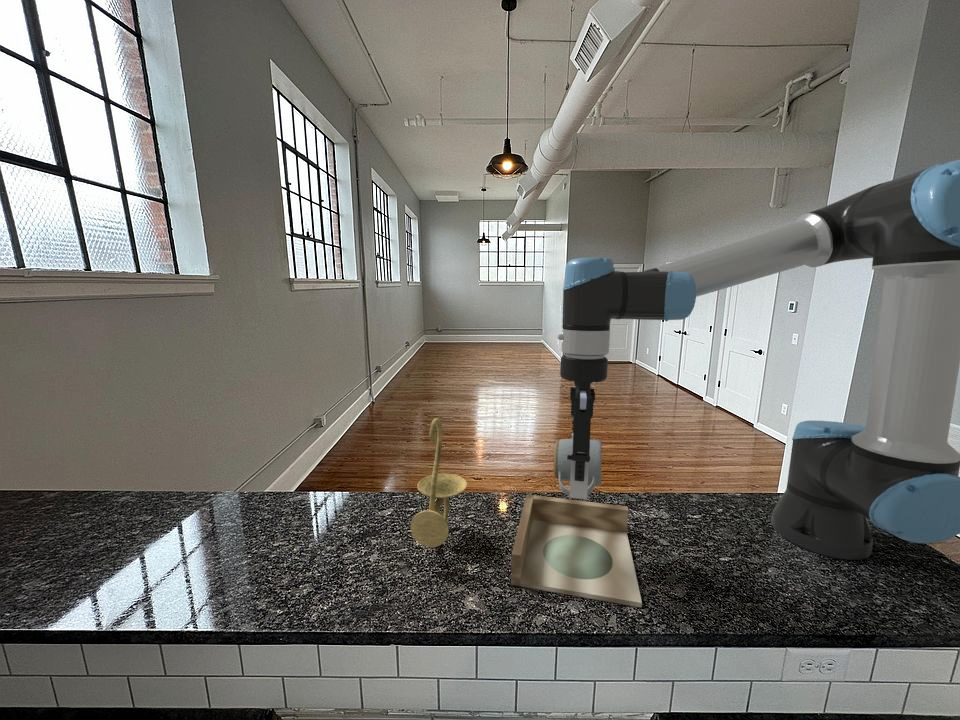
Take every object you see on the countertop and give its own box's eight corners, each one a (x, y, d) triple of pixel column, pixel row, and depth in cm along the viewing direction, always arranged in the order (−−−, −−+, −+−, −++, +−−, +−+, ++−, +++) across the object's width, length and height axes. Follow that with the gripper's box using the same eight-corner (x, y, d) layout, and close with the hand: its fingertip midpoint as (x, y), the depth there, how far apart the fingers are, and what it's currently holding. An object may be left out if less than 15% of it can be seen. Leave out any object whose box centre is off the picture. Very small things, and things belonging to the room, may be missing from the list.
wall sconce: (456, 569, 68) (456, 430, 64) (403, 563, 69) (400, 426, 65) (470, 523, 82) (471, 406, 78) (426, 519, 83) (424, 404, 79)
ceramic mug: (555, 468, 75) (557, 429, 73) (600, 473, 72) (603, 434, 71) (549, 496, 65) (551, 452, 63) (602, 504, 62) (605, 458, 61)
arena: (625, 532, 79) (627, 506, 78) (641, 607, 60) (644, 575, 59) (525, 518, 84) (526, 494, 83) (510, 584, 64) (511, 554, 64)
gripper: (563, 345, 77) (558, 453, 80) (557, 366, 55) (552, 513, 58) (603, 347, 75) (597, 457, 79) (614, 368, 53) (605, 520, 56)
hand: (577, 481), depth 68 cm, fingers closed on ceramic mug, 10 cm apart
